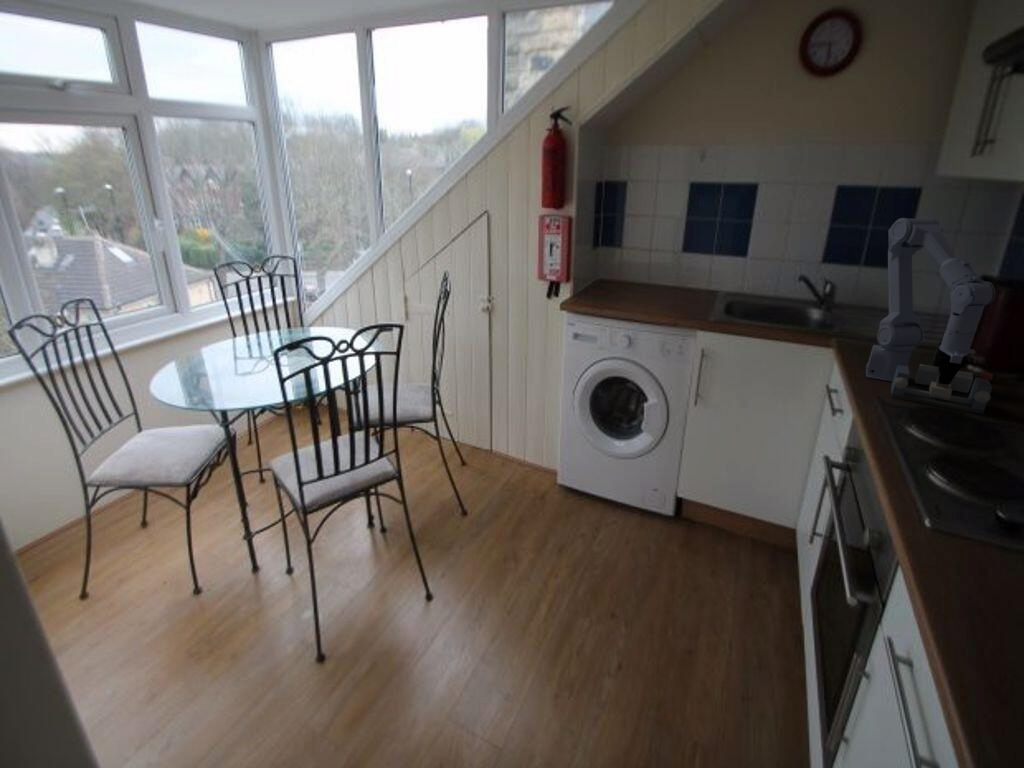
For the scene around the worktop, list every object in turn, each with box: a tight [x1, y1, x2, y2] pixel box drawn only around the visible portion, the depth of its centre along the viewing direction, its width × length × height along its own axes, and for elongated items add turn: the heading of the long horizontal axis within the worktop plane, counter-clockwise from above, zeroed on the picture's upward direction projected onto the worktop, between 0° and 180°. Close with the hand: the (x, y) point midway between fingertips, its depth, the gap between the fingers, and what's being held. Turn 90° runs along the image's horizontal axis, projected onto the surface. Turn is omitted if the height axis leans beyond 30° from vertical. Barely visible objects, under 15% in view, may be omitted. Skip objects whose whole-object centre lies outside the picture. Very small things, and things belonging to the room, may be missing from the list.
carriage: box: [928, 372, 953, 400], centre depth 138 cm, size 4×5×7 cm
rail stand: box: [890, 365, 993, 415], centre depth 139 cm, size 20×8×7 cm, turn 58°
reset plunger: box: [978, 371, 994, 381], centre depth 133 cm, size 2×2×1 cm
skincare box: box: [914, 363, 974, 394], centre depth 149 cm, size 6×4×12 cm
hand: (943, 382), depth 138 cm, fingers closed on carriage, 2 cm apart
